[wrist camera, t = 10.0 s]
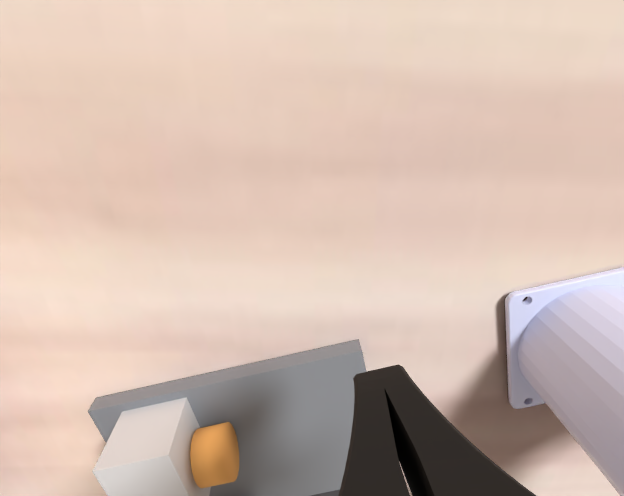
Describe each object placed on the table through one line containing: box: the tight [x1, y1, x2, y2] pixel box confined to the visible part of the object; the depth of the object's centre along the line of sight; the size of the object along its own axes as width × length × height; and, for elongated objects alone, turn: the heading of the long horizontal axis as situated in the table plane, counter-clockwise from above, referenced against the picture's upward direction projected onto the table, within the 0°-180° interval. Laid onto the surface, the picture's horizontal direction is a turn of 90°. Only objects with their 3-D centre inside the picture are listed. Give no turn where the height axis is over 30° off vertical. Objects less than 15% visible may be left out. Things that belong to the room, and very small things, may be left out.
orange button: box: [190, 422, 239, 488], centre depth 21 cm, size 2×3×3 cm, turn 13°
